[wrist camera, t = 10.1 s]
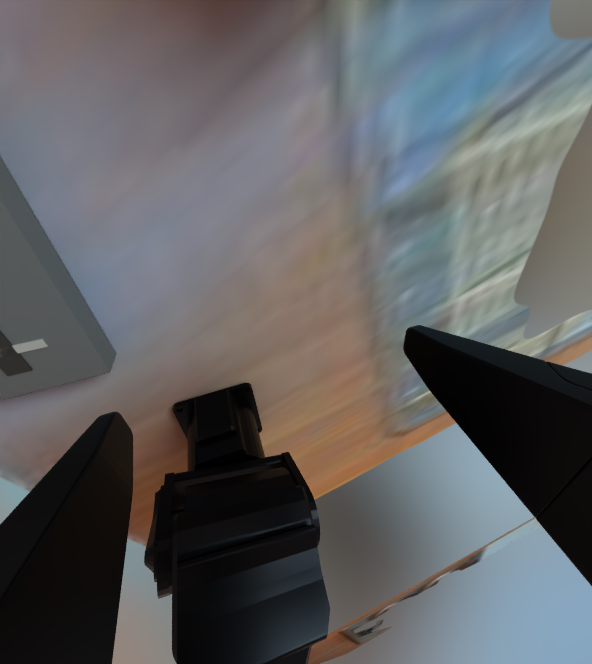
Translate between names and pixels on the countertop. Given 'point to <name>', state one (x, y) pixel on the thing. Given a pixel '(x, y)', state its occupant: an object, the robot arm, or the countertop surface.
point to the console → (41, 307)
